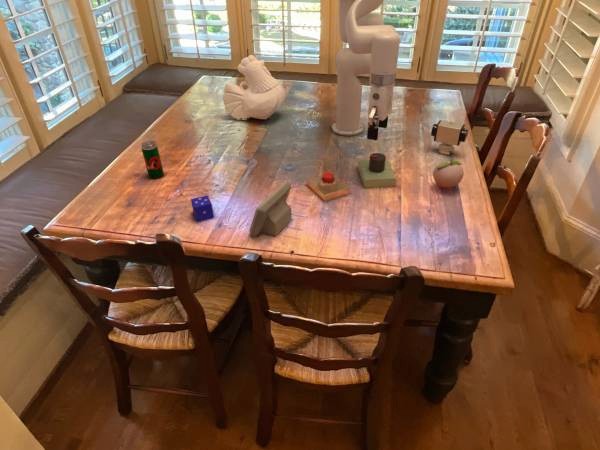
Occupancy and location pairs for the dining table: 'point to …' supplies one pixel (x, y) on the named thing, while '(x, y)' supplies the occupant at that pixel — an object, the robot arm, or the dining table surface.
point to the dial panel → (376, 175)
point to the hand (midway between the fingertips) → (377, 133)
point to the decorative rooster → (253, 92)
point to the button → (328, 177)
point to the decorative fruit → (448, 174)
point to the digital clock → (272, 212)
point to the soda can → (152, 159)
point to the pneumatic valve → (448, 135)
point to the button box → (328, 187)
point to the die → (202, 208)
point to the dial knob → (377, 162)
